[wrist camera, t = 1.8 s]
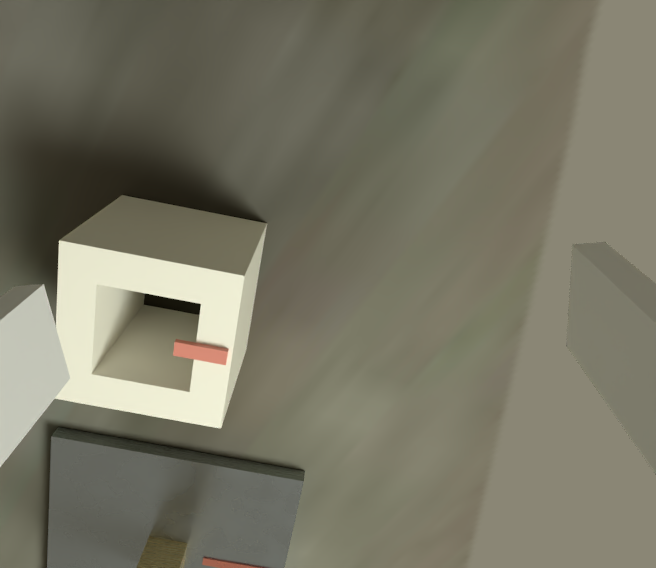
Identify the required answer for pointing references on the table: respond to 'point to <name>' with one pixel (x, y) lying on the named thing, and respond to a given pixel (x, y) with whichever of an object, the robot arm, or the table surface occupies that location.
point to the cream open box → (157, 308)
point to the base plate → (164, 506)
